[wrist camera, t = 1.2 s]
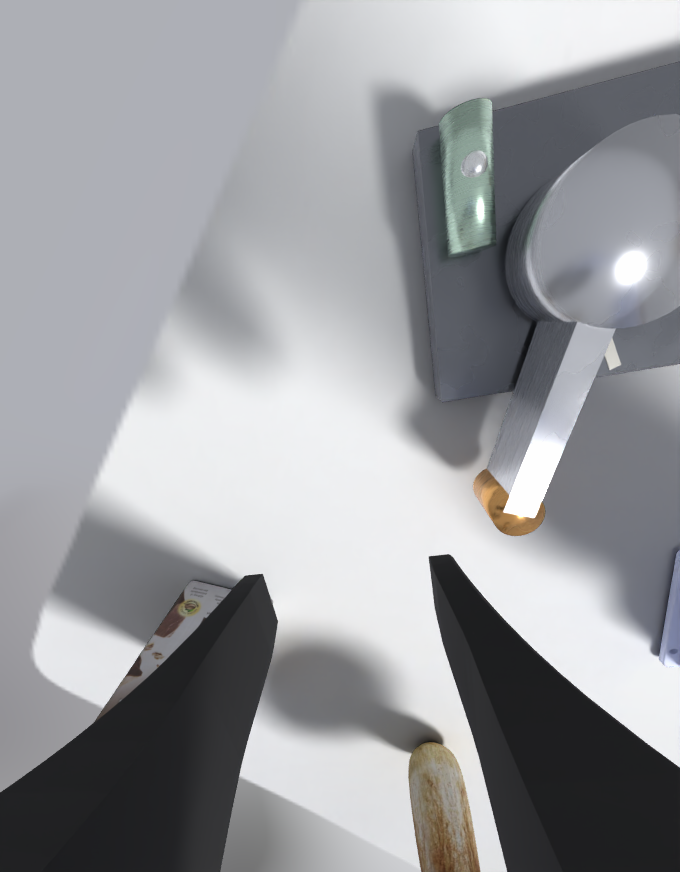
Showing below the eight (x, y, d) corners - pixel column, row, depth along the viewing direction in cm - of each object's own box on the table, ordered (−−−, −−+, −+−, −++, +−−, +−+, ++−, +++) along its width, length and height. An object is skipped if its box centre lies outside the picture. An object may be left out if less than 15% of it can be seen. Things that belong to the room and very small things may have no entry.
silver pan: (534, 150, 12) (586, 98, 10) (690, 176, 12) (788, 132, 9) (433, 493, 17) (446, 526, 15) (543, 513, 17) (578, 550, 14)
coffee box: (187, 577, 23) (-166, 1081, 8) (276, 597, 23) (102, 1139, 8) (180, 665, 26) (-82, 1153, 11) (258, 683, 26) (110, 1193, 11)
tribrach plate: (682, 355, 16) (765, 363, 13) (435, 396, 17) (452, 412, 14) (722, 70, 13) (850, -21, 9) (412, 150, 14) (427, 97, 11)
